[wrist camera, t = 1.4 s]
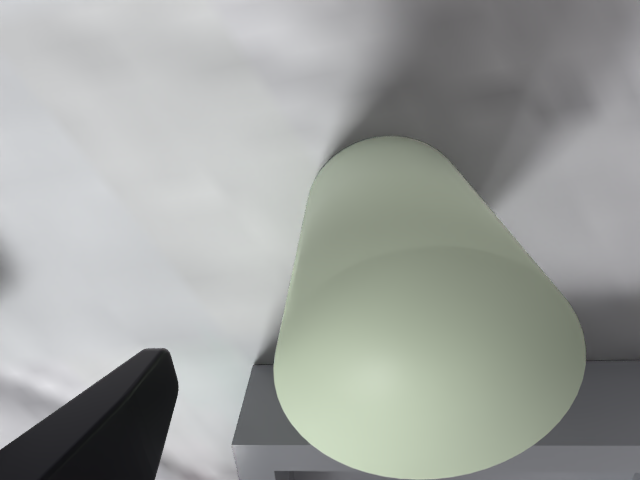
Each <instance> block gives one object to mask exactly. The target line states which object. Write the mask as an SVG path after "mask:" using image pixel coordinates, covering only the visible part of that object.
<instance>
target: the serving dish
mask: <svg viewBox="0 0 640 480" xmlns="http://www.w3.org/2000/svg"><path fill="white" fill-rule="evenodd" d="M273 367H274V365H253V367H252V371H251V375H250V378H249V382H248V386H247V390H246V393H245V397H244V401H243V404H242V408H241V412H240V416H239V419H238V423H237V427H236V430H235V434H234V438H233V441H232V450H233V454H234V459H235V463H236V468H237V472H238V477H239V480H414V479H398V478H391V477H384V476H379V475H375V474H370V473H366V472H363V471H360V470H357V469H354V468H351V467H349V466H347V465H344V464H342V463H340V462H338V461H336V460H334V459H332V458H330V457H329V456H327V455H325V454H323V453H322V452H321V451H319V450H318V449H316V448H315V447H314V446H312V445H311V444H310V443H309V442H308V441H307V440H306V439H305V438H303V437H302V436H301V435H300V434H299V432H298V431H297V430H296V429H295V428H294V426H293V425H292V424H291V423H290V421H289V419H288V418H287V416H286V414H285V413H284V411H283V409H282V407H281V404H280V402H279V399H278V397H277V393H276V388H275V384H274V370H273ZM424 480H640V360H630V361H586V366H585V371H584V376H583V381H582V383H581V386H580V389H579V391H578V394H577V396H576V398H575V400H574V401H573V403H572V405H571V407H570V408H569V410H568V411H567V413H566V414H565V415H564V416H563V418H562V419H561V420H560V422H559V423H558V424H557V425H556V426H555V427H554V428H553V429H552V430H551V431H550V432H549V433H548V434H547V435H546V436H544V437H543V438H542V439H541V440H539V441H538V442H537V443H536V444H534V445H533V446H531V447H530V448H528V449H527V450H525V451H523V452H522V453H520V454H519V455H517V456H515V457H513V458H511V459H509V460H507V461H505V462H502V463H500V464H497V465H495V466H492V467H490V468H487V469H484V470H480V471H477V472H474V473H470V474H465V475H460V476H456V477H449V478H440V479H424Z"/></svg>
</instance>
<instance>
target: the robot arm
mask: <svg viewBox="0 0 640 480" xmlns="http://www.w3.org/2000/svg"><path fill="white" fill-rule="evenodd" d="M177 395H178V380H177V376H176V372H175V369H174V365H173V361H172V358H171V355H170V352H169V351H168V350H167V349H165V348H148V349H144V350H142V351H140V352H139V353H138V354H136V355H135V356H133V357H132V358H130V359H129V360H128V361H126V362H125V363H123V364H122V365H121V366H119V367H118V368H116V369H115V370H113V371H112V372H111V373H109V374H108V375H106V376H105V377H103V378H102V379H101V380H99V381H98V382H96V383H95V384H93V385H92V386H91V387H89V388H88V389H86V390H85V391H83V392H82V393H81V394H79V395H78V396H76V397H75V398H73V399H72V400H71V401H69V402H68V403H66V404H65V405H64V406H62V407H61V408H59V409H58V410H56V411H55V412H54V413H52V414H51V415H49V416H48V417H46V418H45V419H44V420H42V421H41V422H39V423H38V424H36V425H35V426H34V427H32V428H31V429H29V430H28V431H26V432H25V433H24V434H22V435H21V436H19V437H18V438H16V439H15V440H14V441H12V442H11V443H9V444H8V445H7V446H5V447H4V448H2V449H1V450H0V480H155V477H156V473H157V470H158V466H159V463H160V459H161V455H162V452H163V448H164V444H165V441H166V437H167V433H168V429H169V426H170V422H171V418H172V414H173V411H174V407H175V403H176V399H177Z"/></svg>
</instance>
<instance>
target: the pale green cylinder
mask: <svg viewBox="0 0 640 480" xmlns="http://www.w3.org/2000/svg"><path fill="white" fill-rule="evenodd" d="M585 366H586V346H585V340H584V334H583V331H582V328H581V325H580V323H579V320H578V317H577V315H576V314H575V312H574V310H573V309H572V307H571V306H570V304H569V302H568V301H567V300H566V298H565V297H564V296H563V295H562V294H561V293H560V291H559V290H558V289H557V288H556V287H555V285H554V284H553V283H552V282H551V281H550V280H549V278H548V277H547V276H546V275H545V274H544V272H543V271H542V270H541V269H540V268H539V266H538V265H537V264H536V263H535V262H534V261H533V259H532V258H531V257H530V256H529V255H528V253H527V252H526V251H525V250H524V249H523V247H522V246H521V245H520V244H519V243H518V242H517V240H516V239H515V238H514V237H513V236H512V234H511V233H510V232H509V231H508V230H507V228H506V227H505V226H504V225H503V224H502V223H501V221H500V220H499V219H498V218H497V217H496V215H495V214H494V213H493V212H492V211H491V209H490V208H489V207H488V206H487V205H486V204H485V202H484V201H483V200H482V199H481V198H480V196H479V195H478V194H477V193H476V192H475V191H474V189H473V188H472V187H471V186H470V185H469V183H468V182H467V181H466V180H465V179H464V177H463V176H462V175H461V174H460V173H459V172H458V170H457V169H456V168H455V167H454V166H453V164H452V163H451V162H450V161H449V160H448V159H447V158H446V157H445V156H444V155H443V154H442V153H440V152H439V151H438V150H436V149H435V148H433V147H432V146H430V145H428V144H426V143H423V142H421V141H419V140H415V139H412V138H408V137H401V136H380V137H373V138H369V139H365V140H362V141H359V142H357V143H354V144H352V145H350V146H348V147H347V148H345V149H343V150H342V151H340V152H339V153H338V154H336V155H335V156H334V157H333V158H331V159H330V160H329V161H328V162H327V163H326V164H325V166H324V167H323V168H322V169H321V171H320V172H319V173H318V175H317V177H316V178H315V180H314V182H313V184H312V187H311V189H310V192H309V196H308V199H307V204H306V209H305V214H304V218H303V223H302V228H301V233H300V237H299V242H298V247H297V252H296V256H295V261H294V266H293V271H292V275H291V280H290V285H289V290H288V294H287V299H286V304H285V309H284V313H283V318H282V323H281V327H280V332H279V337H278V342H277V346H276V351H275V358H274V367H273V370H274V384H275V388H276V393H277V397H278V399H279V402H280V404H281V407H282V409H283V411H284V413H285V414H286V416H287V418H288V419H289V421H290V423H291V424H292V425H293V426H294V428H295V429H296V430H297V431H298V432H299V434H300V435H301V436H302V437H303V438H305V439H306V440H307V441H308V442H309V443H310V444H311V445H312V446H314V447H315V448H316V449H318V450H319V451H321V452H322V453H323V454H325V455H327V456H329V457H330V458H332V459H334V460H336V461H338V462H340V463H342V464H344V465H347V466H349V467H351V468H354V469H357V470H360V471H363V472H366V473H370V474H375V475H379V476H384V477H391V478H398V479H414V480H424V479H440V478H449V477H456V476H460V475H465V474H470V473H474V472H477V471H480V470H484V469H487V468H490V467H492V466H495V465H497V464H500V463H502V462H505V461H507V460H509V459H511V458H513V457H515V456H517V455H519V454H520V453H522V452H523V451H525V450H527V449H528V448H530V447H531V446H533V445H534V444H536V443H537V442H538V441H539V440H541V439H542V438H543V437H544V436H546V435H547V434H548V433H549V432H550V431H551V430H552V429H553V428H554V427H555V426H556V425H557V424H558V423H559V422H560V420H561V419H562V418H563V416H564V415H565V414H566V413H567V411H568V410H569V408H570V407H571V405H572V403H573V401H574V400H575V398H576V396H577V394H578V391H579V389H580V386H581V383H582V381H583V376H584V371H585Z"/></svg>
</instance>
